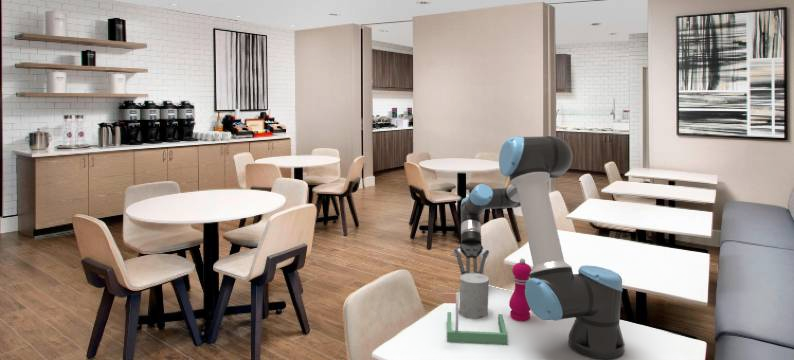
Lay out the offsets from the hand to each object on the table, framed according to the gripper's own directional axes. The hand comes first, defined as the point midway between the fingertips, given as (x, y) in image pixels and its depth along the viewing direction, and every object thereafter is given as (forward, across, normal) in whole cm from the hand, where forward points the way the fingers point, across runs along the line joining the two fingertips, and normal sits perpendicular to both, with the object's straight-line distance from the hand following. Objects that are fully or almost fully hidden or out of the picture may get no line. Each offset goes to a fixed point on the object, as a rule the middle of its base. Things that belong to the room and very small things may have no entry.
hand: (472, 293), depth 180 cm
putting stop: (+19, +1, +14) cm, 24 cm away
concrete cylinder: (+9, 0, +4) cm, 10 cm away
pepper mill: (+10, -15, +6) cm, 19 cm away
